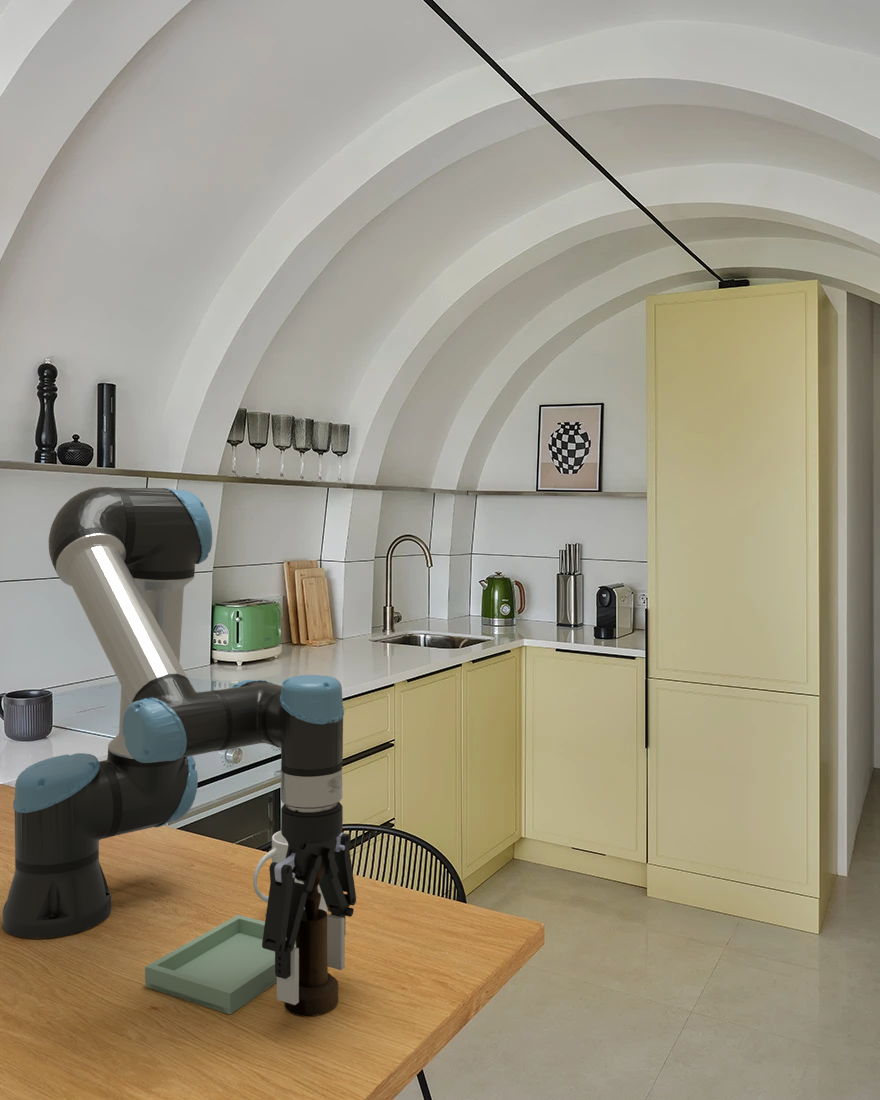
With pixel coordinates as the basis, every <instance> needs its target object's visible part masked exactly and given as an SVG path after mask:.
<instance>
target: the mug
mask: <svg viewBox="0 0 880 1100" xmlns="http://www.w3.org/2000/svg"><path fill="white" fill-rule="evenodd" d="M287 850H288V842H287V840H286V839H285V838H284V837H283V835H282V833H281V830H279V831H277V832H274V834H273V835H272V836H271V850H269V851H268V852H267V853H265V854H264V855H263V856H261V859H260V860H259V861H258V862H257V865H256V866H255V869H254V873H253V877H252V885H253V889H254V890H253V891H254V892H255V893H256V895H257V897H258V898H259V899H260V900H261V901H263V902H265V903H267V904H268V897H269V895H265V894H263V893H262V892H261V891H260V889H259V887H258V876H259V873H260V870H261V869H262V867H263V866H264V864H265V863H266V862H268V861H269V860H270V859H271V863H272V862H276V863H280V862H282V861H283V860H285V859H286V854H287ZM294 881H295V882H296V883H300V884H304V883H303V881H299V880H297V879H296V878H295V879H294ZM318 892H319V893H320V894H321V900H320V905H319V908H318V909H322V910H324V911H326V912H327V913H328V908H327V906H326V903H325V900H324V897H323V894H322V892H321V889H320V886H319V884H318ZM304 909H305V907H304Z"/></svg>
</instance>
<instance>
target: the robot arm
mask: <svg viewBox="0 0 880 1100" xmlns="http://www.w3.org/2000/svg"><path fill="white" fill-rule="evenodd" d="M53 519H54V520H53V521H52V524H51V527H50V528H49V529H50V530H49V535H48V553H49V557H50V561H51V563H52V564H51V565H52V566H53V568H54V571H55V572H56V575H57V577H58V578H59V579H60V581H62V582H63V583H64V584H65V585H67V586H71V587H72V589H73V592H74V593H75V595H76V597H77V599H78V601H79V603H80V605H81V607H82V608H83V611H84V613H85V616H86V617H87V619H88V621H89V623H90V625H91V627H92V630H93V632H94V634H95V635H96V638H97V639H98V641H99V643H100V646H101V648H102V649H103V652H104V654H105V655H106V657H107V659H108V661H109V664H110V666H111V668H112V670H113V672H114V674H115V676H116V677H117V680H118V681H119V684H120V686H121V687H120V706H119V725H118V734H117V735H116V736H115V737H114V738H113V739H111V740H110V741H109V742H108V744H107V747H108V748H107V757H106V759H105V760H99V759H98V758H97V756H95V755H94V754H91V753H86V752H85V753H80V752H79V753H74V754H62V755H57V756H52V757H49V758H46V759H43V760H40V761H38V762H36V763H34V764H31V765H30V766H28V767H26V768H25V769H24V770H22V771H21V772H20V773H19V774H18V776H17V778H16V780H15V784H14V786H15V787H14V788H15V789H14V800H13V802H12V808H13V811H14V865H15V866H14V874H13V878H12V881H11V885H10V888H9V891H8V894H7V898H6V901H5V903H4V905H3V907H2V928H3V930H4V931H5V932H6V933H8V934H9V935H13V936H15V937H20V938H25V939H26V938H27V939H48V938H49V939H51V938H58V937H64V936H65V937H66V936H69V935H74V934H77V933H81V932H84V931H86V930H89V929H92V928H94V927H95V926H97V925H99V924H101V923H103V922H104V921H105V920H106V919H107V918H108V917H109V916H110V915H111V914H112V913H111V912H112V893H111V890H110V889H109V887H108V882H107V879H106V876H105V874H104V870H103V868H102V866H101V863H100V841H101V840H103V839H107V838H112V837H116V836H120V835H125V834H129V833H135V832H137V831H143V830H146V829H151V828H160V827H161V828H162V826H164V825H166V824H169V823H172V822H173V823H174V822H176V821H180V820H181V819H182V818H183V817H184V816H185V815H187V814H188V813H189V811H190V809H192V806H193V804H194V802H195V799H196V795H197V791H198V786H199V785H198V783H199V779H198V778H199V777H198V775H199V774H198V771H197V770H196V766H197V764H196V759H194V756H198V755H202V754H208V753H213V752H218V751H226V750H231V749H232V750H233V749H237V748H242V747H248V746H252V745H257V744H258V745H259V744H266V745H270V746H273V747H277V748H280V755H281V757H280V759H281V762H280V801H281V802H282V803H283V805H282V806H281V808H280V831H281V833H282V835H283V837H284V838H285V839H286V840H287V842H288V850H287V854H286V859H285V860H283V861H282V862H280V863H276V862H272V861H271V863H270V864H269V880H270V884H269V892H268V896H269V897H268V903H267V906H266V913H265V920H264V922H265V926H264V933H263V941H262V948H264V949H267V950H271V951H275V975H276V977H277V982H276V1001H280V1002H284V1003H285V1002H286V1003H290V1004H293V1005H296V1004H297V1003H298V1002H299V948H296V947H294V945H295V941H296V937H297V933H298V929H299V926H300V922H301V918H302V914H303V910H304V906H305V903H306V899H307V895H308V893H309V892H311V891H312V889H313V886H314V882H315V878H316V874H317V871H318V870H319V869H320V866H321V864H322V865H323V867H324V874H323V877H322V879H321V880H320V882H319V886H320V889H321V892H322V894H323V897H324V900H325V903H326V907H327V912H329V913H327V964H328V968H332V969H335V970H339V971H343V970H344V969H345V967H346V966H345V964H346V962H345V961H346V959H345V958H346V957H345V956H346V955H345V953H346V952H345V947H346V946H345V945H346V944H345V942H346V940H345V937H346V917H353V915H354V910H355V909H354V908H353V907H350V906H355V905H356V903H357V895H356V887H355V885H356V884H355V879H354V872H353V865H352V859H351V842H352V841H351V838H352V837H351V834H349V833H345V832H343V827H344V826H343V821H344V820H343V819H344V818H343V817H344V816H343V814H344V813H343V812H344V811H343V809H344V808H343V805H342V804H341V802H340V801H342V799H343V758H344V757H343V753H344V715H345V709H344V705H343V704H344V703H343V687H342V683H341V682H340V681H339V680H338V679H337V678H336V677H333V676H330V675H319V674H318V675H317V674H303V675H295V676H290V677H287V678H286V679H284V680H283V681H282V683H281V685H280V684H276V683H273V682H271V681H267V680H264V679H258V680H255V679H254V680H253V679H246V680H245V679H244V680H241V681H238V682H237V683H236V684H234V685H233V686H232V687H231V688H223V689H216V690H215V689H214V690H207V691H196V690H195V688H194V687H193V685H192V682H190V680H189V677H188V676H187V674H186V673H185V670H184V669H183V667H182V665H181V664H180V659H181V646H182V645H181V644H182V643H181V642H182V627H183V626H182V624H183V623H182V622H183V610H184V609H183V607H184V590H185V587H186V586H187V585H189V583H190V582H191V581H192V580H194V579H195V569H196V565H198V564H201V563H203V562H204V561H206V560H207V559H208V558H209V554H210V552H211V550H212V545H213V529H212V523H211V519H210V515H209V513H208V510H207V508H206V507H205V505H204V502H203V501H202V500H201V499H200V498H199V497H198V496H197V495H196V494H195V493H193V492H191V491H189V490H184V489H183V490H182V489H174V488H169V487H166V488H165V487H112V486H97V487H92V488H88V489H87V490H84V491H80V492H79V493H77V494H75V495H73V496H72V497H71V498H70V499H69V500H67V502H66V503H65V504H64V505H63V506H62V507H61V508H60V509H59V511H58V512H57V514H56V516H55V518H53ZM295 878H296V879H297V880H299V881H303V882H305V883H304V884H300V883H296V882H295V881H294V879H295ZM286 938H287V940H286Z"/></svg>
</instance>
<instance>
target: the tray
mask: <svg viewBox="0 0 880 1100" xmlns="http://www.w3.org/2000/svg"><path fill="white" fill-rule="evenodd" d="M264 926H265V920H259V919H256V918H253V917H249V916H244V915H241V914H237V915H235V916H233V917H232V918H230V919H228V920H226V921H224V922H222V923H220V924H219V925H217V926H215V927H214V928H212V929H209V930H208V931H207V932H205V933H203V934H201V935H200V936H197V937H195V938H193V939H192V940H190V941H188V942H186V943H185V944H183V945H181V946H180V947H178V948H176V949H174V950H172V951H171V952H169V953H167V954H166V955H163V956H162V957H160V958H158V959H156V960H155V961H153V962H151V963H149V964H147V965H146V966H145V967H144V979H145V980H144V987H145V988H148V989H152V990H154V991H157V992H160V993H163V994H166V995H169V996H172V997H176V998H178V999H180V1000H181V999H182V1000H185V1001H188V1002H191V1003H194V1004H197V1005H199V1006H203V1007H206V1008H208V1009H210V1010H211V1009H212V1010H215V1011H218V1012H221V1013H224V1014H227V1015H232V1014H233V1013H235V1012H236V1011H237V1010H239V1009H240V1008H242V1007H243V1006H245V1005H246V1004H248V1003H249V1002H250V1001H252V1000H254V999H255V998H256V997H258V996H259V995H261V994H263V992H265V991H267V990H268V989H269V988H271V987H272V986H274V985H275V984H277V977H276V975H275V951H271V950H267V949H264V948H262V941H263V933H264ZM286 940H287V938H286ZM294 947H296V941H295V945H294Z"/></svg>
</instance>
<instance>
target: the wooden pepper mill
mask: <svg viewBox="0 0 880 1100" xmlns="http://www.w3.org/2000/svg"><path fill="white" fill-rule="evenodd" d="M323 874H324V867H323V865H322V864H321V866H320V869H319V870H318V871H317V874H316V878H315V882H314V886H313V889H312V891H311V892H309V893H308V895H307V899H306V903H305V906H304V907H305V909H304V910H303V914H302V918H301V922H300V926H299V929H298V933H297V937H296V948H299V1002H298V1003H297V1004H296V1005H293V1004H290V1003H286V1002H284V1007H285V1009H286V1010H287V1011H288V1012H289V1013H291V1014H294V1015H296V1016H301V1017H302V1016H303V1017H305V1016H306V1017H313V1016H319V1015H323V1014H326V1013H327V1012H329V1011H331V1010H333V1009H334V1008H336V1006H337V1005H338V1002H339V982H338V979H337V978H336V977H335V976H333V975H332V974H331V973H330V972H329V971H328V970H329V969H328V968H329V967H328V964H327V914H328V911H327V912H326V911H324V910H322V909H318V908H319V905H320V900H321V894H320V893H319V892H318V884H319V882H320V880H321V879H322V877H323ZM303 883H305V882H303Z"/></svg>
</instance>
